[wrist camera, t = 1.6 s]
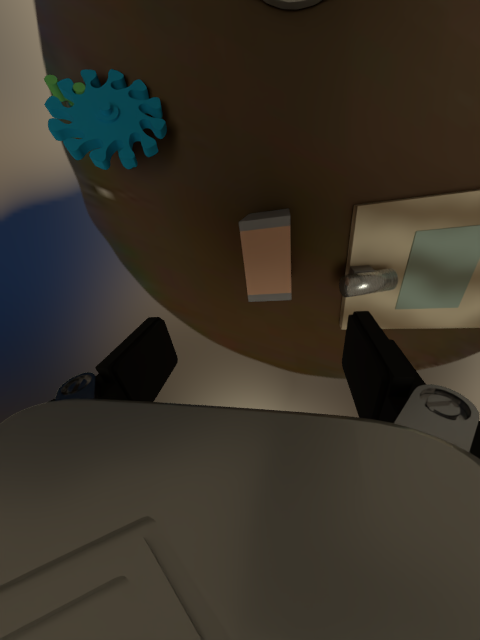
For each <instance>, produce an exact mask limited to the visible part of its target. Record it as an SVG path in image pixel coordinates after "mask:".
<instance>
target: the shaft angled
mask: <svg viewBox="0 0 480 640" xmlns="http://www.w3.org/2000/svg"><path fill="white" fill-rule="evenodd" d="M397 284H398V275H397V273H396V271H395V270H394V269H392V268H388V269H382V270H375V271H371V272H363V273H356V274H350V275H344V276H342V277H341V278H340V281H339V288H340V292H341V294H342V296H343V297H352V296H359V295H365V294H371V293H378V292H384V291H390V290H393V289H395V288H396V286H397Z"/></svg>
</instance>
